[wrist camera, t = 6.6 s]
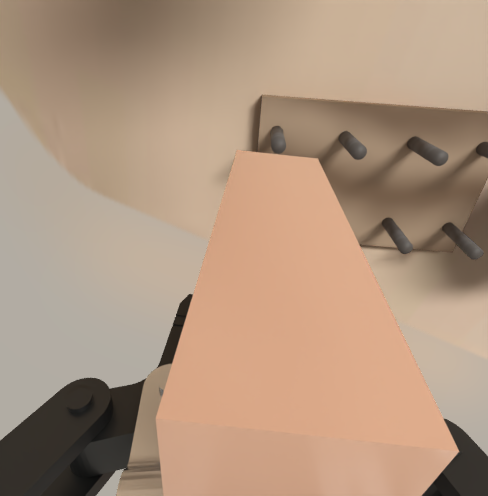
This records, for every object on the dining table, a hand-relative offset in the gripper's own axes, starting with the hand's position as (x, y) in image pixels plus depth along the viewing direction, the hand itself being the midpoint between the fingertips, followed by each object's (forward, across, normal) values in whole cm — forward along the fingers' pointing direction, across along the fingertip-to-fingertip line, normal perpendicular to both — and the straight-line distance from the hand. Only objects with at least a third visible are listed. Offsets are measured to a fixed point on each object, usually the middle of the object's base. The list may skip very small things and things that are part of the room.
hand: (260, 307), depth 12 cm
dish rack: (+19, -9, +1) cm, 21 cm away
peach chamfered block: (+2, 0, 0) cm, 2 cm away
